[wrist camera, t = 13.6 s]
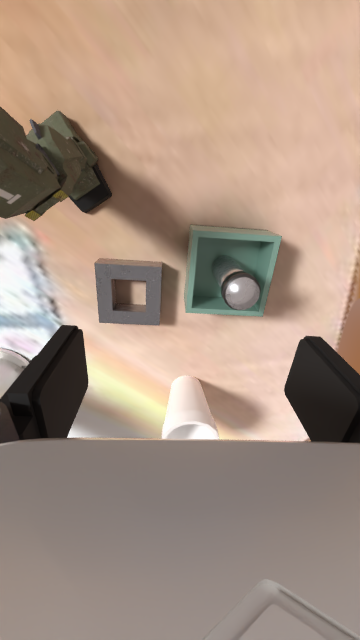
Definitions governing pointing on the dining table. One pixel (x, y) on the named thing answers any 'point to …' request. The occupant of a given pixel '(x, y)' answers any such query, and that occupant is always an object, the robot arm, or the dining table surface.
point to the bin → (245, 248)
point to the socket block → (128, 271)
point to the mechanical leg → (46, 168)
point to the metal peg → (235, 283)
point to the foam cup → (188, 412)
